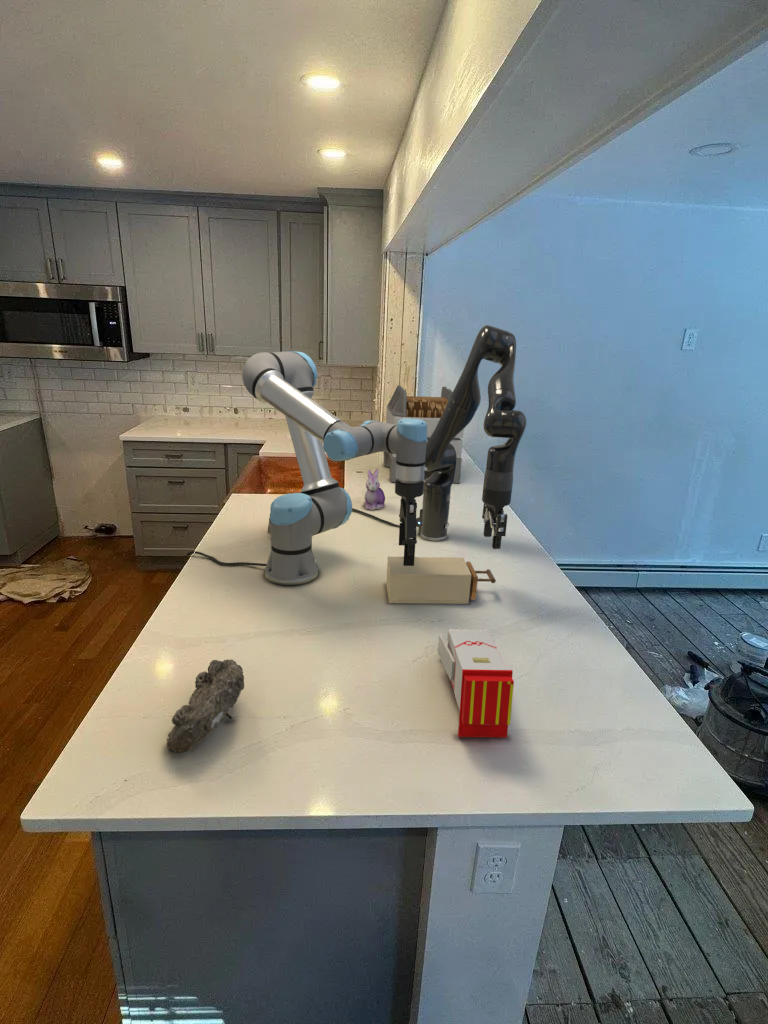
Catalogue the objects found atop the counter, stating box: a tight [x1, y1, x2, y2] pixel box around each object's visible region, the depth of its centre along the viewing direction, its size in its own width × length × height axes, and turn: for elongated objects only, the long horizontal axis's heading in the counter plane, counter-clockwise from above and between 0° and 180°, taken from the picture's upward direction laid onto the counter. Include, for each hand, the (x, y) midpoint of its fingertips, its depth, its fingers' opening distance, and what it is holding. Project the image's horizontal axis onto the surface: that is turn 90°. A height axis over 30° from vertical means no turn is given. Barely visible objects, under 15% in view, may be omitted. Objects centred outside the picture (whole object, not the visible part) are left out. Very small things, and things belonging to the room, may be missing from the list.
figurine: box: [363, 468, 386, 511], centre depth 223 cm, size 9×10×15 cm
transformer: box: [383, 384, 465, 484], centre depth 268 cm, size 34×33×41 cm
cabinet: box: [385, 556, 471, 605], centre depth 157 cm, size 22×11×9 cm, turn 94°
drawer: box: [465, 561, 497, 601], centre depth 158 cm, size 26×10×7 cm, turn 94°
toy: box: [437, 628, 515, 738], centre depth 117 cm, size 12×13×30 cm
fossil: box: [166, 658, 245, 754], centre depth 106 cm, size 22×10×15 cm
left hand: (406, 554), depth 154 cm, fingers open, 13 cm apart
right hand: (491, 542), depth 155 cm, fingers open, 8 cm apart
